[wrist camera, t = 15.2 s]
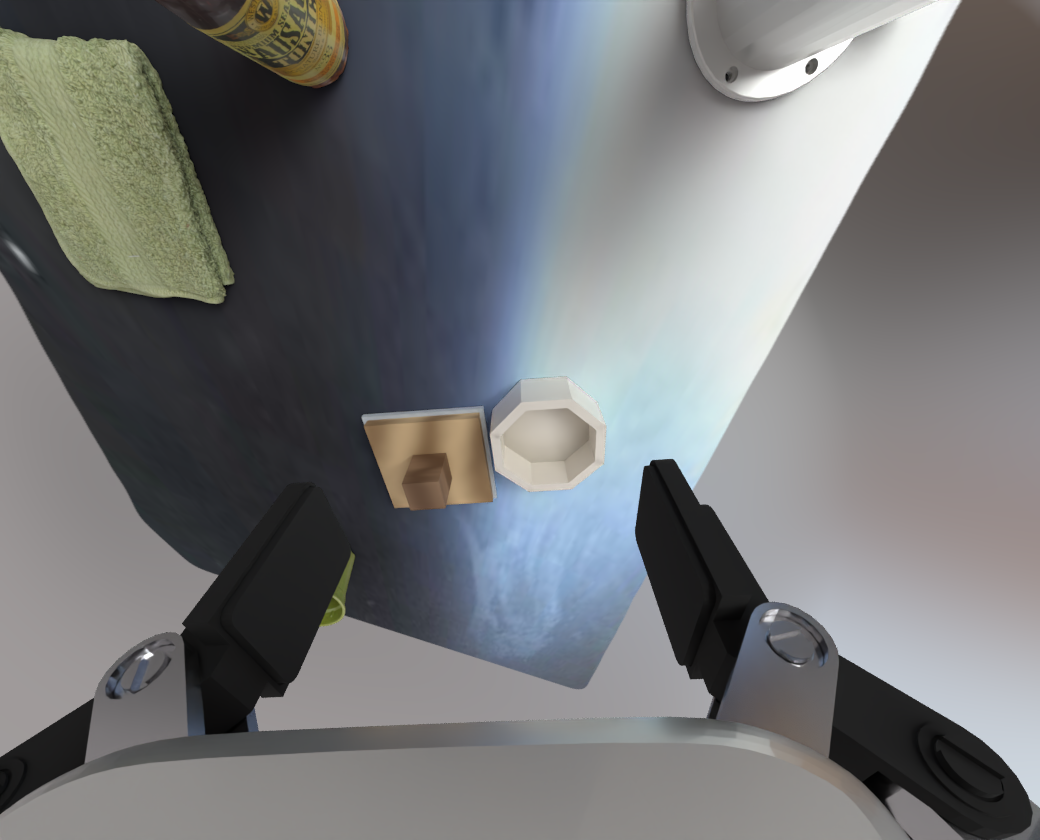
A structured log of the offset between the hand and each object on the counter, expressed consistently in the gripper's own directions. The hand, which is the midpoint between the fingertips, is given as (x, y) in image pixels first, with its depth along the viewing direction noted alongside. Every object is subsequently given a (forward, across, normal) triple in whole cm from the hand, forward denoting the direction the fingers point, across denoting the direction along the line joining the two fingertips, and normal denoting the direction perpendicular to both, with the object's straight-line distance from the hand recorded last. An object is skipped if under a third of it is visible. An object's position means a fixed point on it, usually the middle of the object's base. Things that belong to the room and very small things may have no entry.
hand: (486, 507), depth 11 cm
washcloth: (+29, +30, -10) cm, 43 cm away
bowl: (+28, -3, +16) cm, 33 cm away
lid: (+28, +11, +20) cm, 36 cm away
